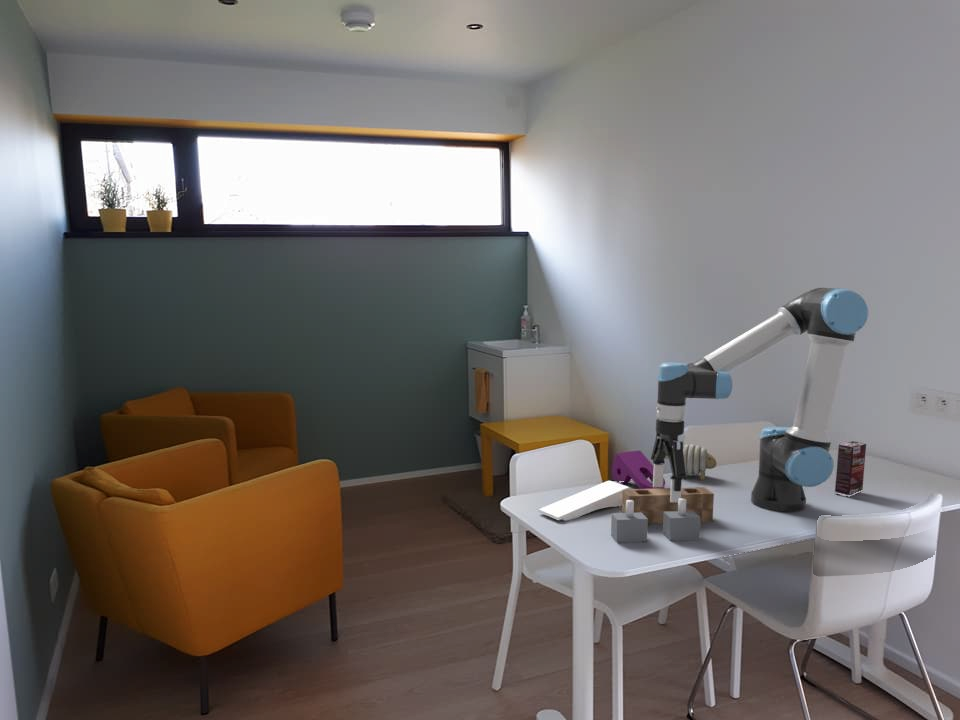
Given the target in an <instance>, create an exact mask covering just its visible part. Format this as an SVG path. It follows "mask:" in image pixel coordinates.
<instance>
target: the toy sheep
mask: <svg viewBox="0 0 960 720" xmlns="http://www.w3.org/2000/svg"><path fill="white" fill-rule="evenodd" d="M683 455H684V463H685V471H686V475H688V476H690V477H692V476H694V475H695V476H700V477H699V479H700V480H701V481H704V480H705V477H706V470H711V469H714V468H715V467H717V460H716V459H715V457H714V456H713V455H712V454H710V453H709V452H708V450H707V448H706V447H701V445H695V444H693V443H691V444H690V445H689V444H685V445H683ZM664 460H669V457H668V456H667V455H666V457H665V459H664Z"/></svg>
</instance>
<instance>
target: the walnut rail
mask: <svg viewBox="0 0 960 720" xmlns="http://www.w3.org/2000/svg"><path fill="white" fill-rule="evenodd" d="M670 491H671V487H667V488H666V487H665V488H658V489H640V488H631V489H630V488H629V489H624V490H622V506H621V513H626V500H633V501H634V513H639V512H641V513H642V514H643V515H644V516H645V517H646V518H647V519H648V525H653V524H655V523H659V524H663V514H664V512H669V511H678V502H670ZM714 496H715V494H714V492H712V491H711V490H710V489H708V488H707V487H706V486H701V487H699V486H697V487H695V486H693V487H682V488H681V498H684V499H686V511H694V512H695V513H696V514H697V515H699V516H700V517H701V519H700V523H708V522H709V523H710V522H714V521H713V520H714V500H715V499H714V498H715V497H714Z"/></svg>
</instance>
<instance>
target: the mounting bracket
mask: <svg viewBox="0 0 960 720" xmlns="http://www.w3.org/2000/svg"><path fill="white" fill-rule="evenodd" d="M653 471H654V464H653V463H652V462H651V461H650V460H649V459H648V457H646V455H645V454H644V453H643V452H642V451H641V450H633V451H625V452H624V451H623V452H616V454H615V457H614V459H613V462H612V465H611V473H612V477H613V479H614V480H615V481H614V482H615V483H619V481H624V482H621V483H622V484H627V483H629V482H631V481H633V482H634V484H635V485H636V486H637V488H638V489H658V488H664V487H665V486H666V479H665V478H664V477H663V487H653ZM648 479H649V480H650V481H649V480H648ZM651 482H652V483H651ZM621 483H620V484H621Z"/></svg>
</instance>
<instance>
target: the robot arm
mask: <svg viewBox="0 0 960 720" xmlns="http://www.w3.org/2000/svg"><path fill="white" fill-rule="evenodd" d="M868 317H869V309H868V305H867V303H866V301H865V299H864V298H863V296H861V294H859V293H858V292H857V291H853V290H850V289H847V288H841V287H840V288H839V287H837V288H834V287H833V288H831V287H830V288H828V287H817V288H813V289H810V290H807V291H805V292H804V293H802V294H801V295H798V296H797V297H795V298H794V299H792V300H791V301H789V302H787V303H785V304H784V305H782V306H780V307H779V308H778V310H777V313H775V314H773V315H772V316H770V317H769V318H767V319H766V320H764V321H762V322H760V323H759V324H757V325H755V326H754V327H752V328H750V329H749V330H747V331H746V332H744V333H742V334H740V335H739V336H737V337H736V338H734V339H732V340H730V341H728V342H727V343H725V344H723V345H721V347H719V348H717V349H715V350H713V351H712V352H710V353H708V354H707V355H705V356H703V357H702V358H700V359H698V360H696V361H695V362H688V363H682V362H676V361H675V362H672V361H670V362H669V361H667V362H662V363H661V364H660V365H659V370H658V378H657V400H656V401H657V404H656V407H655V411H656V417H657V418H656V421H655V432H656V433H655V434H656V435H655V440H654V443H653V447H652V450H651V451H652V453H651V455H650V459H651V460H652V462H653V463H652V464H653V466H654V471H653V482H652V484H653V487H663V478H664V469H665V464H666V463H665V460H666V459H665V457H666V455H667V456H668V457H669V459H668V461H669V467H670V470H671V474H672V475H671V476H670V488H671V491H670V502H678V499H679V498H681V488H683V487H682V484H683V480H684V479H685V480H686V479H687V474H686V471H685V463H684V455H683V447H684V442H683V441H679V438H678V437H679V436H682V435H683V434H684V433H685V421H684V419H686V406H687V405H686V403H687V399H711V400H722V399H724V400H725V399H728V398H730V396H731V394H732V392H733V391H732V390H733V378H732V375H731V374H730V373H731V372H733V371H734V370H736V369H737V368H739V367H741V366H743V365H745V364H746V363H748V362H749V361H751V360H752V359H753V360H754V358H756V357H758V356H760V355H761V354H763V353H765V352H767V351H768V350H769V349H771V348H773V347H775V346H777V345H778V344H780V343H782V342H784V341H785V340H787V339H789V338H790V337H792V336H795V337H799V336H801V335H802V334H804V333H806V336H807V337H808V338H809V340H810V342H811V343H810V347H809V351H808V356H807V361H806V366H805V369H804V373H803V374H804V375H803V379H802V384H801V388H800V394H799V396H798V401H797V405H796V406H797V408H796V411H795V415H794V420H793V425H792V426H791V427H789V426H788V427H787V426H786V427H785V426H771V427H770V426H769V427H764V428H762V430H761V431H760V438H759V458H758V459H759V460H758V475H757V476H758V477H757V478H756V481H755V483H754V486H753V489H752V491H751V496H750V501H751V502H752V504H754V505H755V506H757V507H760V508H763V509H766V510H767V509H768V510H771V511H777V512H798V511H802V510H804V509H806V508H807V507H806V506H807V498H806V495H805V491H804V487H806V488H813V487H817V486H820V485H821V484H823V483H824V482H826V481H827V480H829V478H830V477H831V475H832V473H833V471H834V466H835V465H834V463H835V462H834V459H833V457H832V455H831V453H830V447H831V444H832V439H831V438H830V437H829V435H828V430H829V429H828V428H829V423H830V419H831V415H832V411H833V406H834V401H835V397H836V393H837V390H838V389H837V388H838V384H839V379H840V375H841V370H842V366H843V363H844V362H843V361H844V357H845V353H846V349H847V347H848V346H850V345H852V344H853V343H854V342H855V339H856V338H855V337H856V333H857V332H859V331H860V330H861V329H863V327H865V325H866V323H867V320H868Z"/></svg>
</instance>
